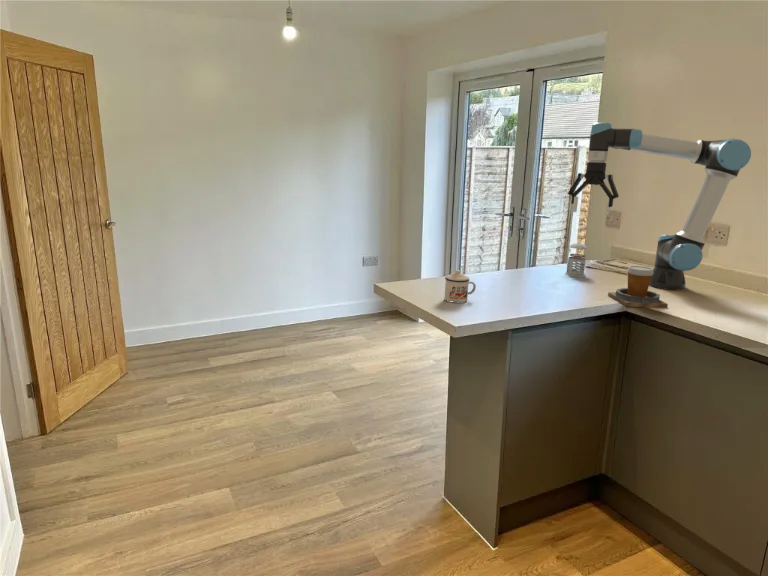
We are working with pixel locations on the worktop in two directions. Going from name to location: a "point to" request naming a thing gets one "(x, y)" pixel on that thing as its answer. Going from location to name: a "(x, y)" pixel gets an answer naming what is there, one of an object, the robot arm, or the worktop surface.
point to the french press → (576, 261)
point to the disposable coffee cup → (639, 280)
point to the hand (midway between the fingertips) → (590, 213)
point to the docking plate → (634, 304)
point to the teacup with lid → (457, 287)
